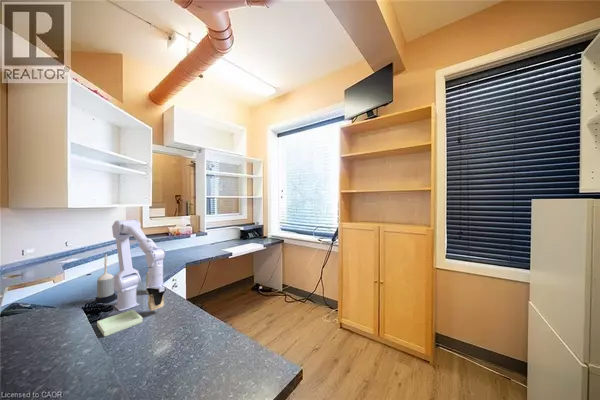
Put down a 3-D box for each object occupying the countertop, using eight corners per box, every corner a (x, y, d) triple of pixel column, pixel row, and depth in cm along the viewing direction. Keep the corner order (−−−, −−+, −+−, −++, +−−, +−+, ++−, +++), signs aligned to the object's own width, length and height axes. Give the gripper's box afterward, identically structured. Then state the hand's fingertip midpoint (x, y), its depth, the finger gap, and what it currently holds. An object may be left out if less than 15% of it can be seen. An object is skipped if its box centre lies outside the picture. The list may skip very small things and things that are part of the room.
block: (148, 308, 101) (148, 295, 101) (160, 304, 105) (160, 291, 105) (151, 310, 99) (151, 297, 99) (163, 306, 103) (163, 293, 103)
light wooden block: (152, 294, 123) (152, 273, 124) (145, 293, 124) (145, 272, 125) (161, 290, 130) (161, 269, 130) (155, 289, 131) (155, 269, 131)
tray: (97, 326, 91) (97, 321, 91) (133, 313, 101) (133, 309, 101) (104, 337, 84) (104, 331, 84) (142, 322, 94) (142, 317, 94)
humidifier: (117, 296, 121) (117, 252, 122) (112, 302, 114) (112, 255, 114) (99, 299, 118) (99, 254, 118) (92, 305, 110) (92, 257, 111)
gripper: (140, 274, 103) (140, 302, 103) (151, 280, 94) (152, 311, 94) (157, 270, 109) (157, 297, 109) (169, 275, 100) (169, 305, 100)
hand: (156, 303), depth 102 cm, fingers closed on block, 4 cm apart
